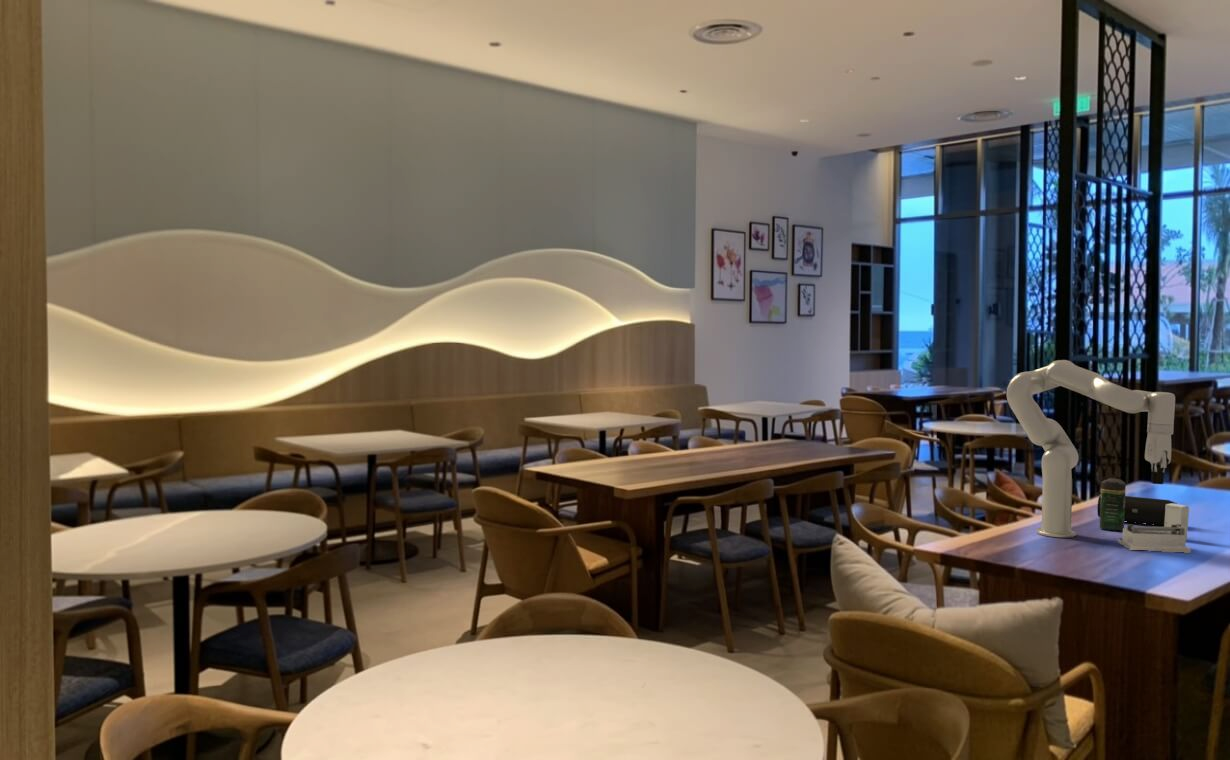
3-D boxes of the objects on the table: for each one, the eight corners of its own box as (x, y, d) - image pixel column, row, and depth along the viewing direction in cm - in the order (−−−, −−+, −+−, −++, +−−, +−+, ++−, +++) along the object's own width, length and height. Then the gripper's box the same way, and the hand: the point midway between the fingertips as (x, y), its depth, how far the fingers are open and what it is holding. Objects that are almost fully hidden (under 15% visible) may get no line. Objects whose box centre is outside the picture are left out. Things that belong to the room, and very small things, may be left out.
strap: (1129, 528, 306) (1129, 525, 306) (1178, 529, 303) (1178, 526, 303) (1132, 530, 303) (1132, 527, 303) (1182, 531, 300) (1182, 528, 300)
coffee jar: (1122, 532, 327) (1124, 481, 326) (1098, 530, 332) (1099, 479, 331) (1125, 528, 335) (1127, 478, 334) (1101, 525, 340) (1103, 476, 339)
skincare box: (1162, 538, 318) (1164, 503, 318) (1170, 536, 320) (1171, 502, 320) (1180, 541, 313) (1181, 506, 312) (1188, 540, 315) (1189, 505, 314)
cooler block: (1117, 542, 311) (1118, 520, 311) (1175, 545, 308) (1175, 523, 307) (1130, 550, 299) (1131, 528, 299) (1190, 553, 296) (1191, 530, 295)
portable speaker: (1096, 521, 349) (1097, 495, 348) (1101, 517, 356) (1101, 491, 356) (1174, 529, 333) (1174, 502, 333) (1177, 525, 341) (1177, 499, 341)
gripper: (1139, 426, 310) (1136, 479, 311) (1156, 431, 296) (1153, 486, 297) (1163, 427, 309) (1160, 480, 310) (1181, 432, 294) (1178, 488, 295)
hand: (1157, 483), depth 303 cm, fingers closed
